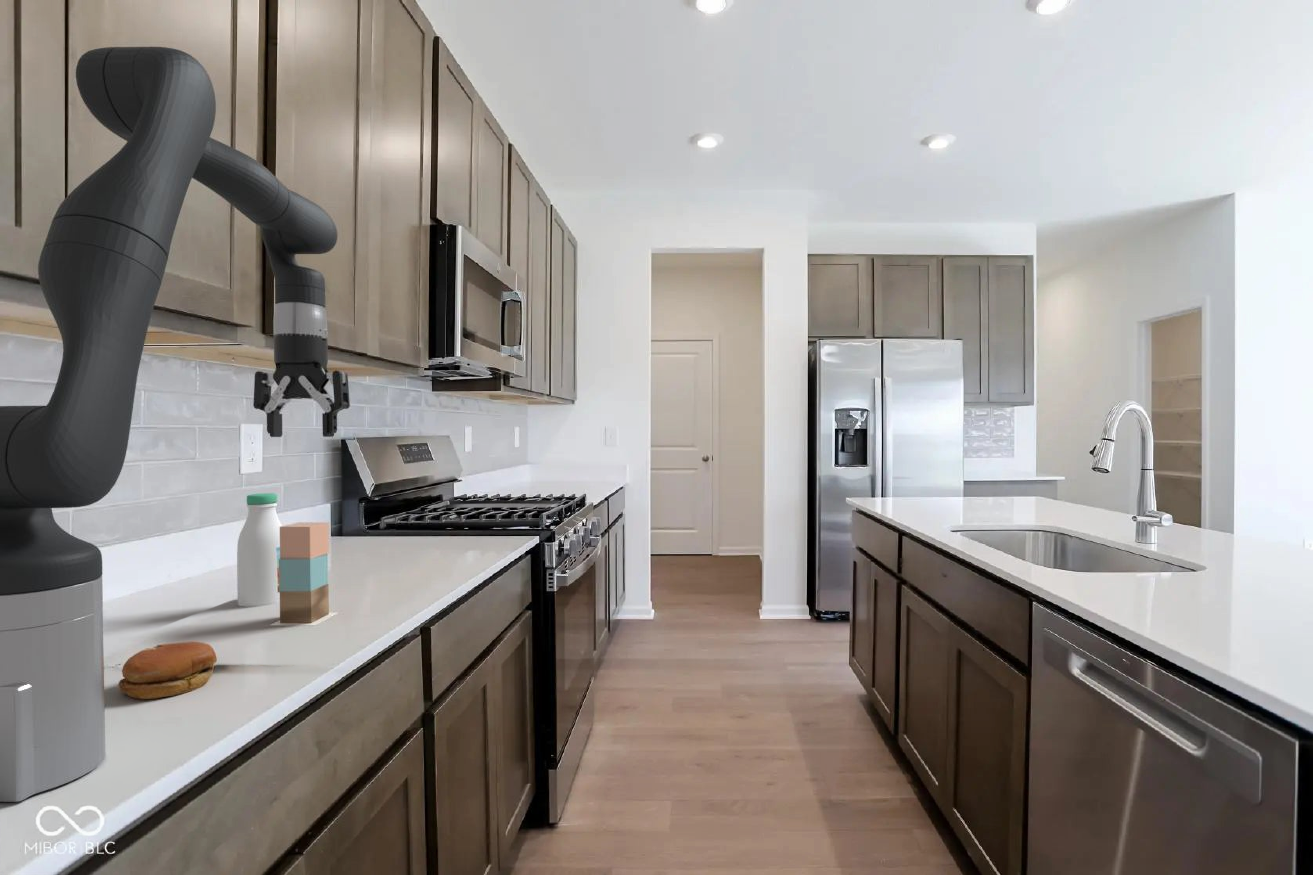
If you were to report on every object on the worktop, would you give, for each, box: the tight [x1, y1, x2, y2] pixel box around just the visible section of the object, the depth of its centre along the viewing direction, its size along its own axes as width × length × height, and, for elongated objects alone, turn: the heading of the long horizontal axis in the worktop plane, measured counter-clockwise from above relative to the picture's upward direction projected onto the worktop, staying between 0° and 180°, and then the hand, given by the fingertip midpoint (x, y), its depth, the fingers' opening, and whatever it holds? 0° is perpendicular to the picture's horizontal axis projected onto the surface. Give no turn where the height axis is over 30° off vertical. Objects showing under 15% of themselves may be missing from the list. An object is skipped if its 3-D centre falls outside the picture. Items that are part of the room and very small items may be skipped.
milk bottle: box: [236, 492, 283, 608], centre depth 115 cm, size 8×8×20 cm
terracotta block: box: [280, 521, 330, 559], centre depth 104 cm, size 5×5×5 cm
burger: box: [117, 641, 218, 700], centre depth 80 cm, size 10×9×5 cm
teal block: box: [279, 553, 329, 591], centre depth 104 cm, size 5×5×5 cm
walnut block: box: [279, 583, 330, 623], centre depth 104 cm, size 5×5×5 cm
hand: (302, 436), depth 103 cm, fingers open, 8 cm apart
